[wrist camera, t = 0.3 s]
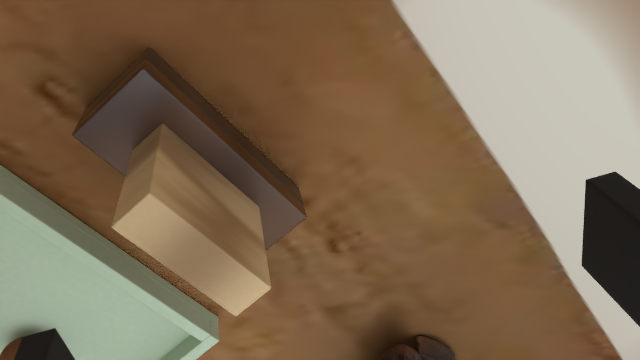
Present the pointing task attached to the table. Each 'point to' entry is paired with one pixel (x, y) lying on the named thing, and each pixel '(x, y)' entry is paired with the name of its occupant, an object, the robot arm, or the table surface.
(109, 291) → the tray
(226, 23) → the table surface
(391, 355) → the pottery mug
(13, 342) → the cork ball
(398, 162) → the table surface
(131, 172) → the chalkboard eraser
